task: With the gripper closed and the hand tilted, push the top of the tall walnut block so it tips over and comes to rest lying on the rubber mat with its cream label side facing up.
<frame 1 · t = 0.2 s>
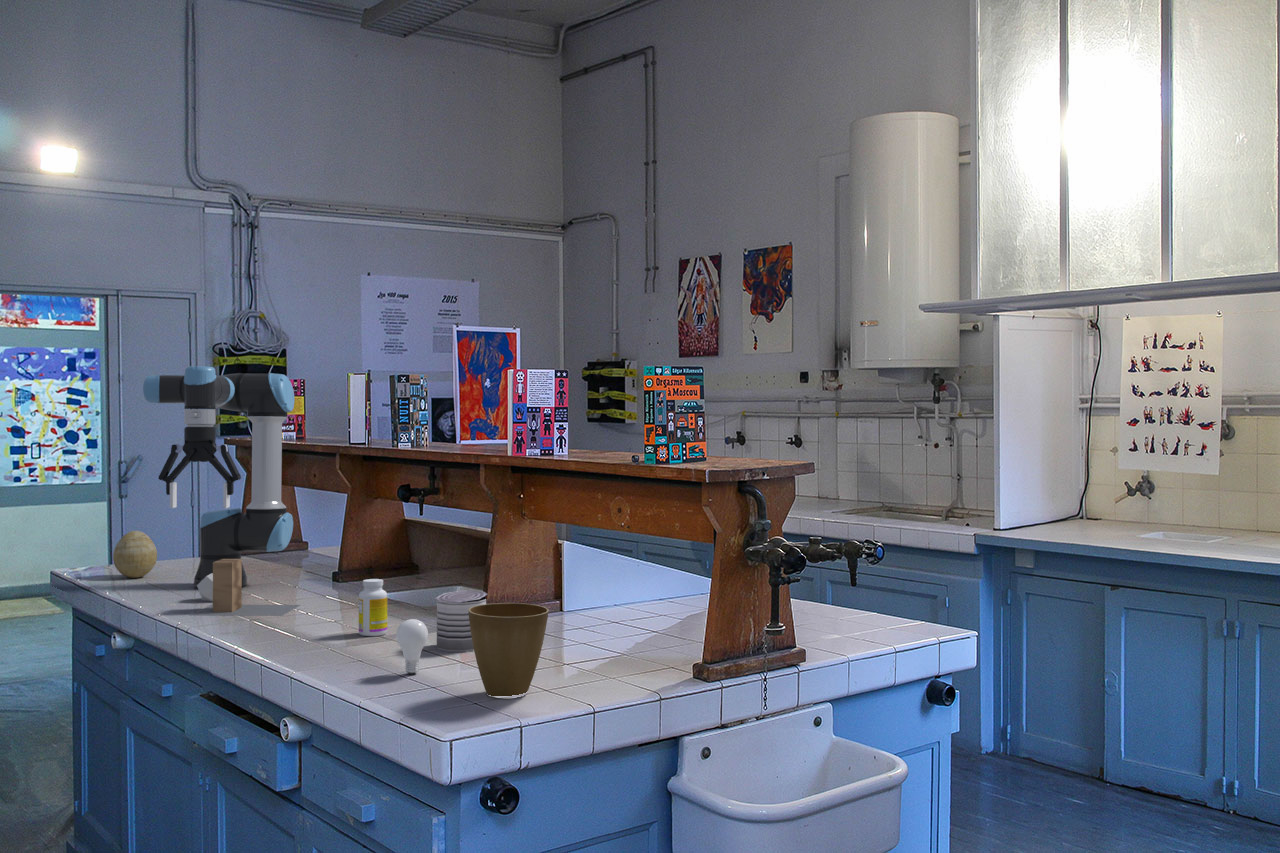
hand: (199, 507, 280), 28 cm above the counter, tool pointing down, fingers open, 13 cm apart
die: (214, 602, 300), on the counter
can: (461, 647, 243), on the counter
label block: (227, 609, 285), resting on mat
fossilized egg: (135, 578, 344), on the counter
lightbulb: (411, 674, 217), on the counter
plant pot: (508, 695, 201), on the counter
supplement bottle: (373, 635, 257), on the counter
mat: (246, 611, 285), on the counter
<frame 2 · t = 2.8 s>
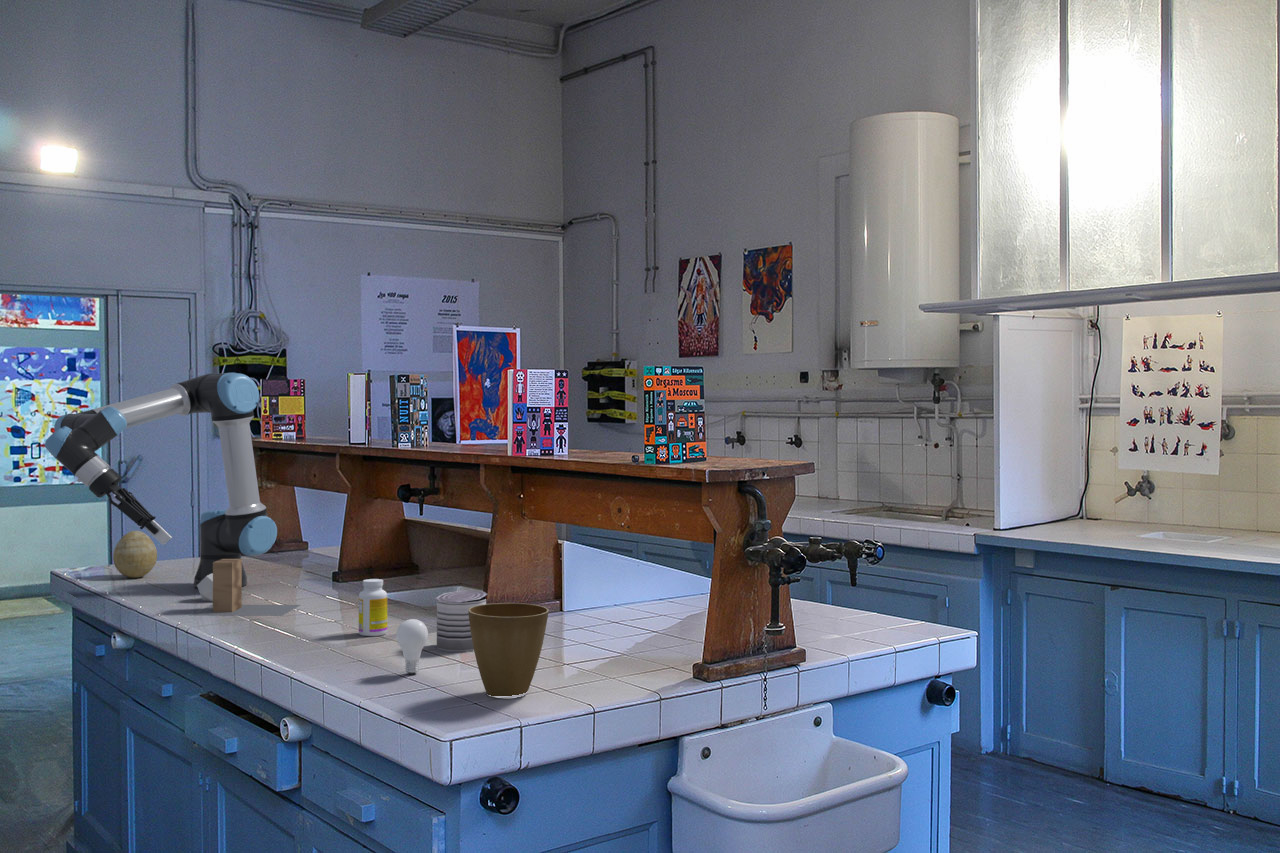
hand: (167, 541, 282), 19 cm above the counter, tool tilted 45°, fingers closed
nothing on the counter moved.
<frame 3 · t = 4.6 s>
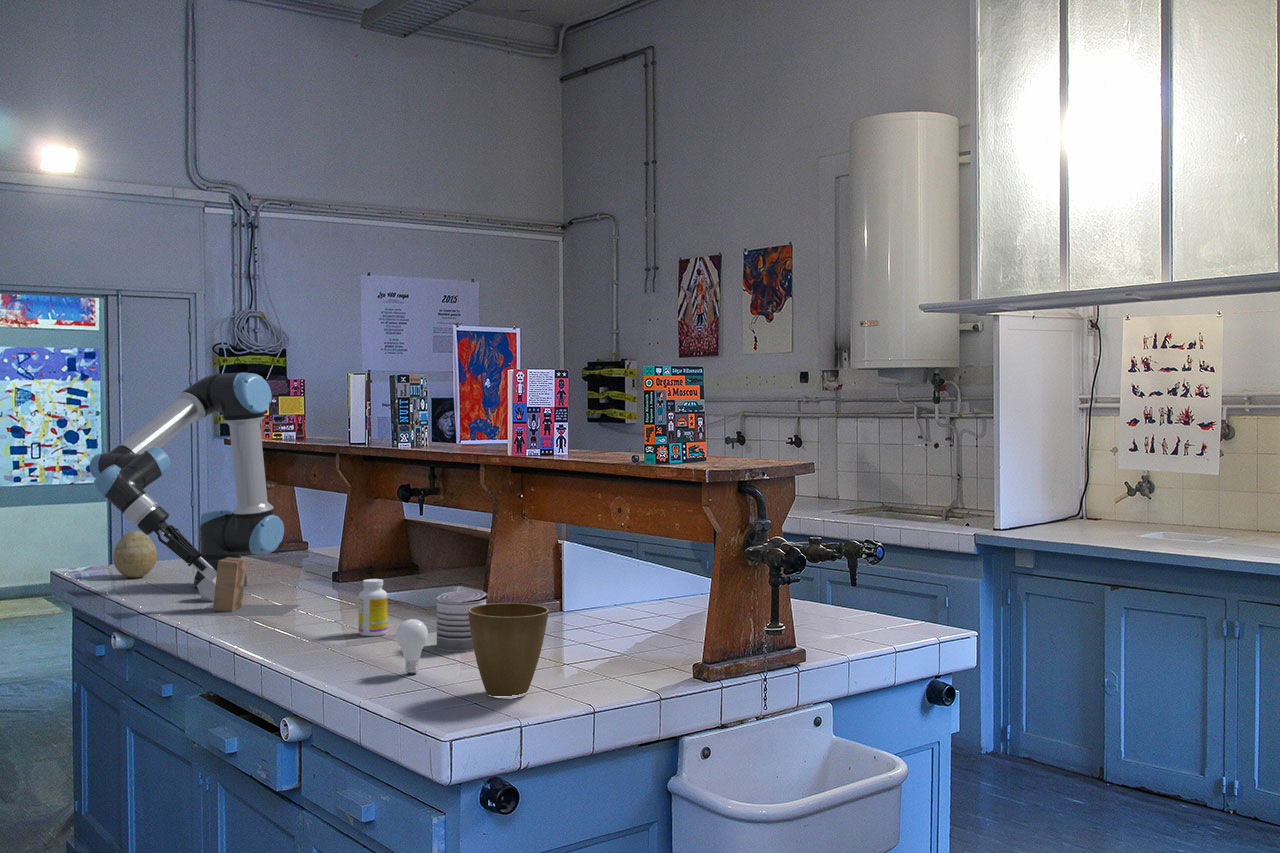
hand: (214, 577, 284), 9 cm above the counter, tool tilted 45°, fingers closed
label block: (227, 608, 285), point 1 cm above the counter, tilted 6°, touching gripper, mat
everything else where it was.
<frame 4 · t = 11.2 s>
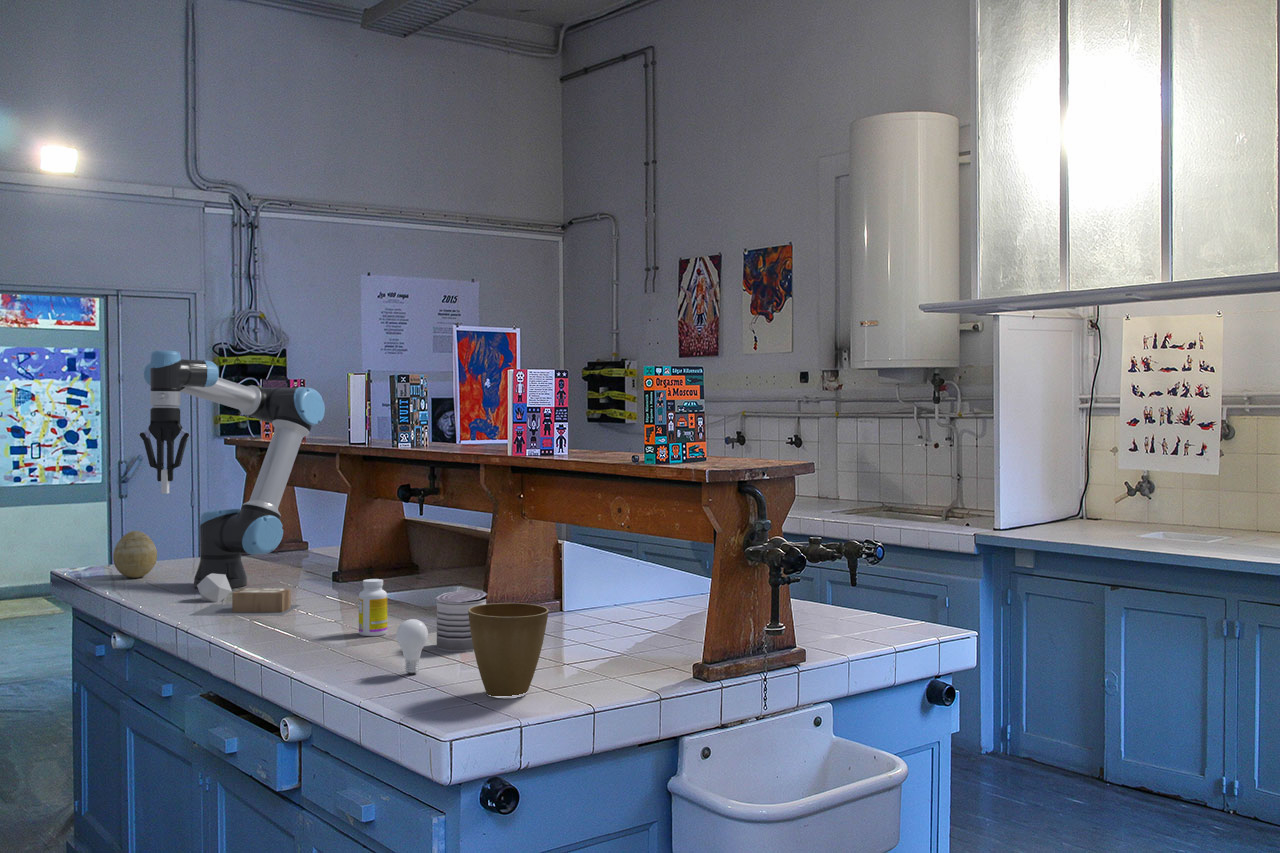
hand: (165, 493, 295), 30 cm above the counter, tool pointing down, fingers closed
label block: (237, 600, 285), point 3 cm above the counter, tilted 90°, touching mat
everything else where it was.
at the end: label block tilted 90°; label block inside the target area (5.5 cm from its centre), point 3.0 cm above the counter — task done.
